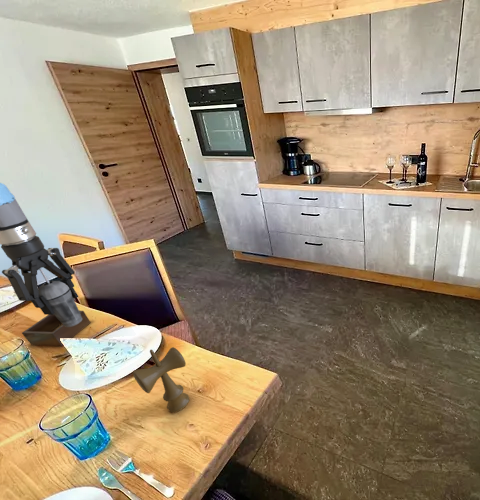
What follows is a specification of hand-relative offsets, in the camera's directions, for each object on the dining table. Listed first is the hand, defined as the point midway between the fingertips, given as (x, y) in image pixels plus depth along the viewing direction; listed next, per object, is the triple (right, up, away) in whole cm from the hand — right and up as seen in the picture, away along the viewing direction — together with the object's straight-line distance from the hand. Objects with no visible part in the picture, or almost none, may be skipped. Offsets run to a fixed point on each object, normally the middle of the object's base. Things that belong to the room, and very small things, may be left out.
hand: (62, 305), depth 91 cm
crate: (-10, -12, +10) cm, 19 cm away
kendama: (+46, -23, -15) cm, 54 cm away
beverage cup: (0, -6, +3) cm, 7 cm away
